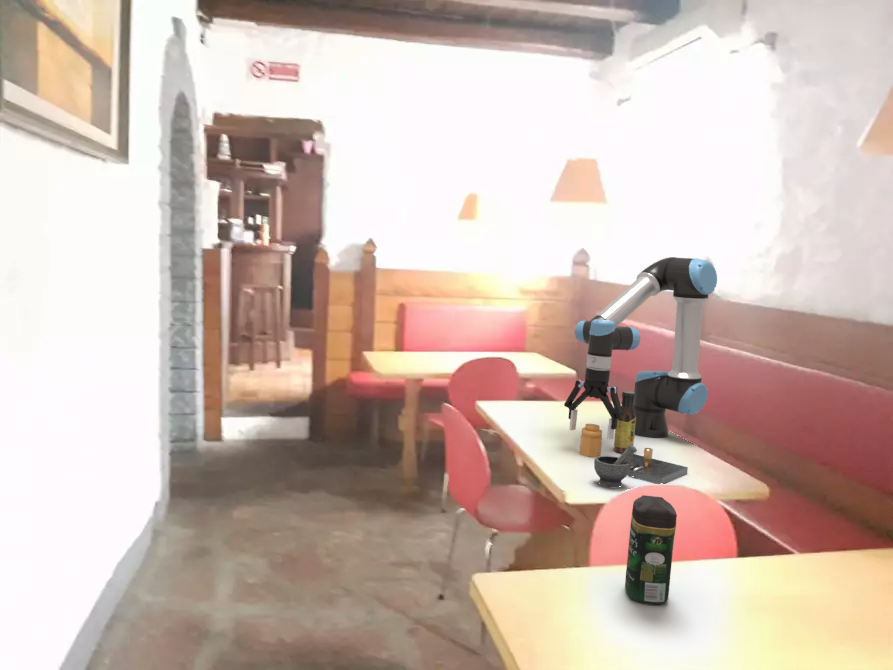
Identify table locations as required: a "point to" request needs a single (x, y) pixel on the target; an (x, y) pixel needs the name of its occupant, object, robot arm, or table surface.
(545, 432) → the table surface
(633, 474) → the junction plate
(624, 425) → the sauce bottle
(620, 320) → the robot arm
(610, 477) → the mortar and pestle
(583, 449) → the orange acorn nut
